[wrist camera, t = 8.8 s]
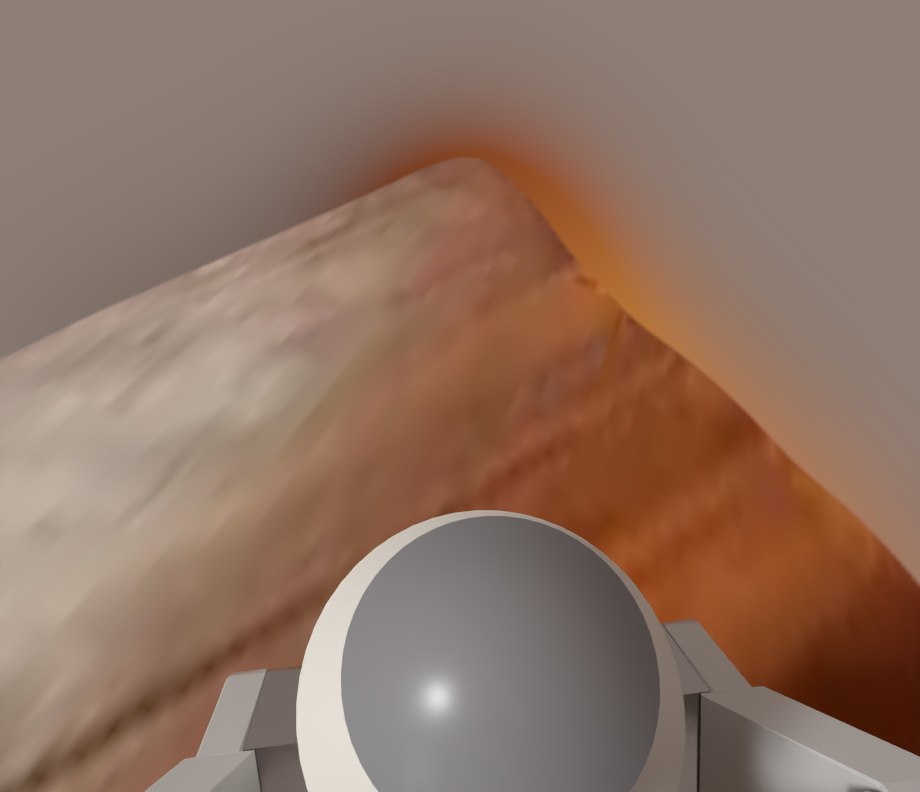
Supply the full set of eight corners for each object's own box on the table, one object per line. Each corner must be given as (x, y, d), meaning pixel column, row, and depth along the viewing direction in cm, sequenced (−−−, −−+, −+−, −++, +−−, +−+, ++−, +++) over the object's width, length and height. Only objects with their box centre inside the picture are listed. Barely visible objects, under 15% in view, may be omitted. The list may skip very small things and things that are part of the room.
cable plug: (544, 891, 12) (740, 1031, 4) (352, 843, 12) (186, 890, 4) (566, 681, 14) (730, 499, 6) (399, 645, 14) (344, 426, 6)
